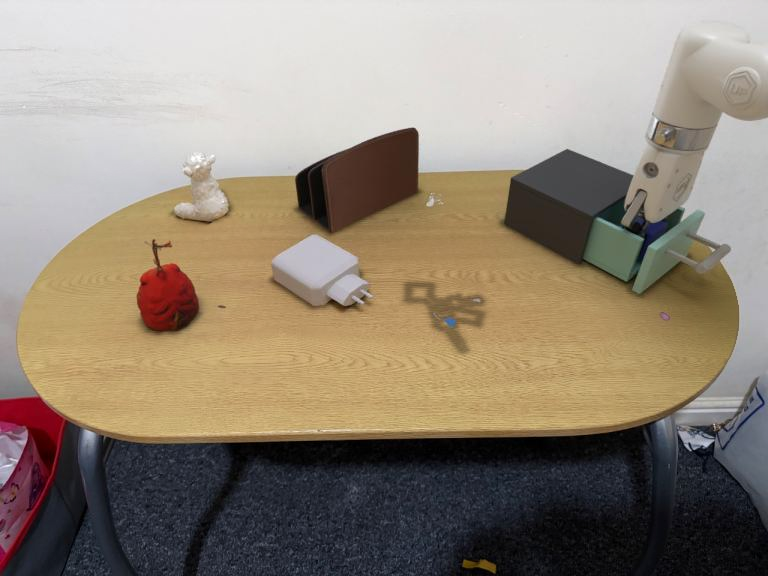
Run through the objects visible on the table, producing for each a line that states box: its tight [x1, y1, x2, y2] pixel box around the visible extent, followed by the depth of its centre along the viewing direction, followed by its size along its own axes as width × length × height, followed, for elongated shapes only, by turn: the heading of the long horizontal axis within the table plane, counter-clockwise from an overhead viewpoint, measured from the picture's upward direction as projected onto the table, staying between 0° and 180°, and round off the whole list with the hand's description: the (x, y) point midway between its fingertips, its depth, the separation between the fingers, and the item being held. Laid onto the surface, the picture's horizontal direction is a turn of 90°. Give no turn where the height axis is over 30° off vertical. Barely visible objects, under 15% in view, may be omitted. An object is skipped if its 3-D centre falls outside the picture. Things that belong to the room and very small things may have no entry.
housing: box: [503, 148, 634, 266], centre depth 86 cm, size 15×15×10 cm
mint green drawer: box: [582, 198, 732, 295], centre depth 78 cm, size 19×13×8 cm
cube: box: [622, 217, 668, 259], centre depth 78 cm, size 4×4×4 cm
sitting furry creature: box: [173, 151, 230, 223], centre depth 91 cm, size 10×9×12 cm
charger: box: [270, 233, 374, 307], centre depth 77 cm, size 5×9×15 cm
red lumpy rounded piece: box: [136, 238, 200, 332], centre depth 70 cm, size 8×7×15 cm
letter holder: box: [294, 127, 420, 234], centre depth 92 cm, size 10×20×14 cm, turn 130°
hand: (638, 245), depth 80 cm, fingers closed on cube, 4 cm apart
